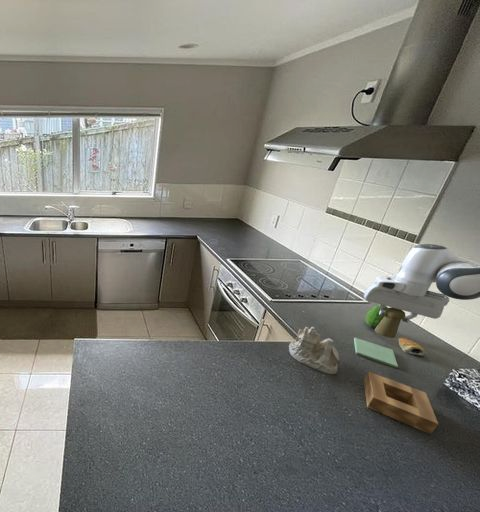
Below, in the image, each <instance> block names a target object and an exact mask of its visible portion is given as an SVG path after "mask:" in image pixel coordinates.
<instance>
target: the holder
mask: <svg viewBox="0 0 480 512" xmlns="http://www.w3.org/2000/svg"><path fill="white" fill-rule="evenodd" d="M362 382H363V389H364V396H365V400H366V407H367V408H368V409H370V410H373V411H375V412H377V413H380V414H382V415H384V416H387V417H389V418H391V419H394V420H396V421H398V422H401V423H403V424H405V425H408V426H409V427H412V428H414V429H417V430H419V431H422V432H424V433H426V434H429V435H432V433H433V432H434V431H435V429H436V428H437V427H438V425H439V421H438V420H437V417H436V415H435V412H434V410H433V407H432V405H431V402H430V400H429V397H428V395H427V392H425V391H422V390H421V389H417V388H414V387H413V386H409V385H406V384H404V383H402V382H398V381H395V380H393V379H391V378H387V377H385V376H382V375H379V374H376V373H374V372H371V371H369V370H368V371H367V373H366V374H365V376H364V378H363V381H362Z"/></svg>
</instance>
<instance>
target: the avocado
mask: <svg viewBox="0 0 480 512" xmlns="http://www.w3.org/2000/svg"><path fill="white" fill-rule="evenodd" d="M382 308H383V307H382ZM388 308H389V307H388V306H385V308H383V310H385V311H386V310H387V309H388ZM379 312H380V307H379V304H377V305H375V306H374V307H372V308H371V309H370V310H369V311H368V312H367V313H366V315H365V323H366V325H368V327H370V328H373V329H375V328H376V327H377V326H378V324H379V323H380V322H381V320H382V319H383V318H384V317H385V316H382V315H379ZM385 315H386V314H385Z"/></svg>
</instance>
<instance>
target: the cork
mask: <svg viewBox="0 0 480 512" xmlns="http://www.w3.org/2000/svg"><path fill="white" fill-rule="evenodd" d="M405 316H406V311H404V310H400V309H396V308H392V307H388V309H387V310H386V315H385V317H384V318H383V319H382V320H381V322H380V323H379V324H378V326H377V327H376V328H374V331H375V332H376V333H377V334H378V335H380V336H382V337H385V338H389V339H395V338H396V336H397V333H398V330H399V327H400V324H401V321H402V319H403V318H405Z"/></svg>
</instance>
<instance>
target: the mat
mask: <svg viewBox="0 0 480 512" xmlns="http://www.w3.org/2000/svg"><path fill="white" fill-rule="evenodd" d="M353 343H354V350H355V354H356V355H357V356H361V357H364V358H366V359H369V360H372V361H374V362H378V363H381V364H384V365H387V366H390V367H392V368H395V369H398V367H399V365H398V361H397V359H396V356H395V353H394V350H393V349H392V348H388V347H386V346H383V345H379V344H376V343H374V342H370V341H367V340H364V339H361V338H358V337H353Z"/></svg>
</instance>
